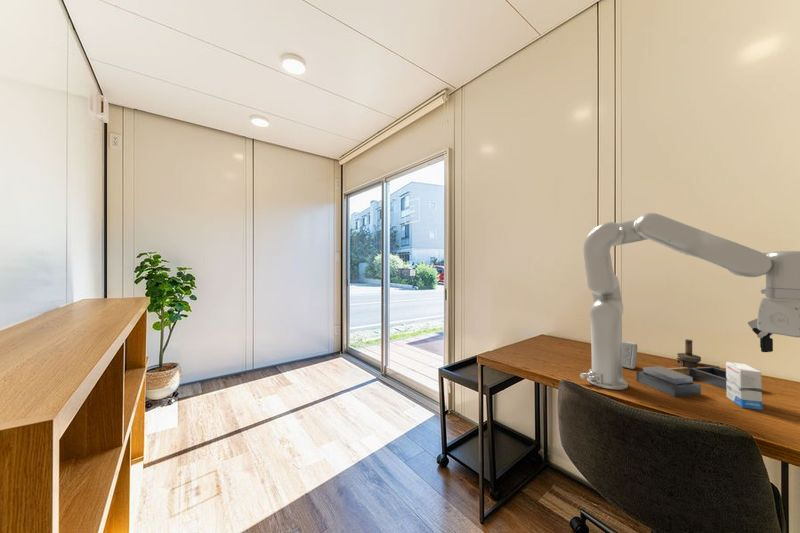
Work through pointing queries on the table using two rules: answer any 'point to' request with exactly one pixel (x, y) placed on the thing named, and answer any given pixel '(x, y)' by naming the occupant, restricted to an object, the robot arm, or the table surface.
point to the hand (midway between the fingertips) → (787, 356)
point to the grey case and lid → (681, 379)
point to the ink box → (744, 385)
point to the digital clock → (629, 354)
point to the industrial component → (688, 356)
